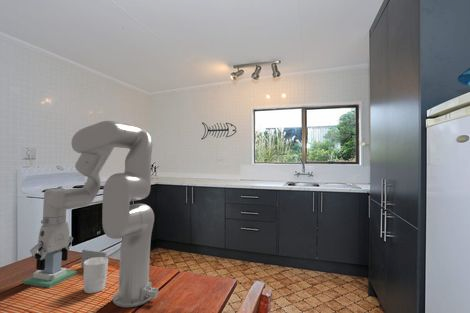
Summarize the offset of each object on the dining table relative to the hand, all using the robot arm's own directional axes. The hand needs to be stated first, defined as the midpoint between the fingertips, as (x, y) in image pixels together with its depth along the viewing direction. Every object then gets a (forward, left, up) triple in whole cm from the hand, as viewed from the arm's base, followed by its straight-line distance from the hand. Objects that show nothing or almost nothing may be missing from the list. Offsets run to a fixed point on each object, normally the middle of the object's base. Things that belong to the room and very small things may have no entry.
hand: (52, 264), depth 98 cm
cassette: (-8, -12, -6) cm, 16 cm away
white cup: (-22, +2, -6) cm, 23 cm away
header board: (0, 0, -5) cm, 5 cm away
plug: (0, 0, -4) cm, 4 cm away
